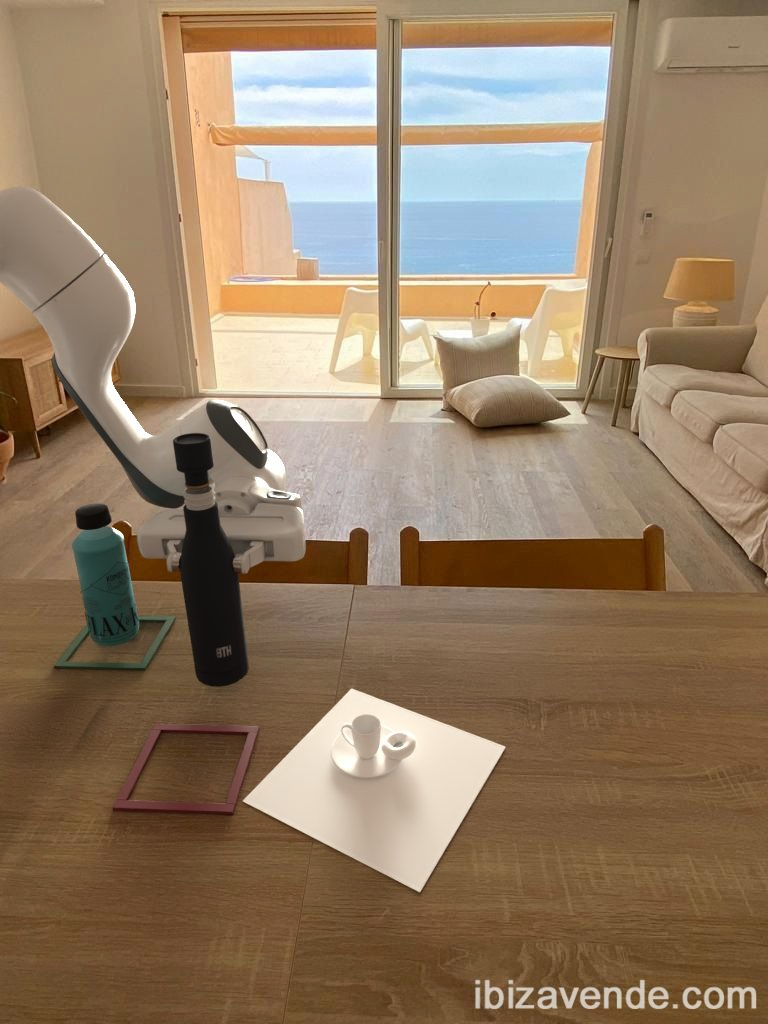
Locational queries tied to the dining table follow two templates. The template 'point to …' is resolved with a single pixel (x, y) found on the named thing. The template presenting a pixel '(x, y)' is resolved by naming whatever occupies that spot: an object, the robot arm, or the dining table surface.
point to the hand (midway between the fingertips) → (206, 567)
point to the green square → (116, 666)
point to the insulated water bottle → (209, 572)
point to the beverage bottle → (104, 577)
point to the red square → (188, 807)
